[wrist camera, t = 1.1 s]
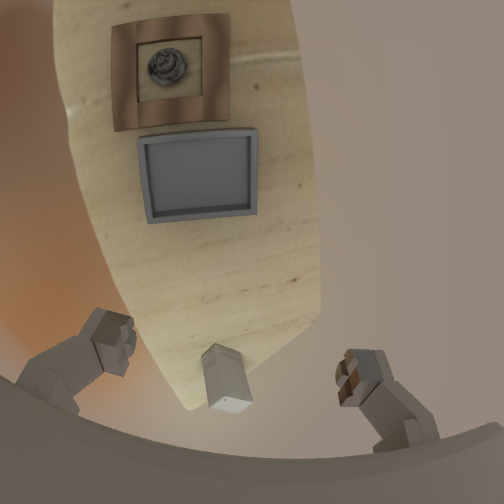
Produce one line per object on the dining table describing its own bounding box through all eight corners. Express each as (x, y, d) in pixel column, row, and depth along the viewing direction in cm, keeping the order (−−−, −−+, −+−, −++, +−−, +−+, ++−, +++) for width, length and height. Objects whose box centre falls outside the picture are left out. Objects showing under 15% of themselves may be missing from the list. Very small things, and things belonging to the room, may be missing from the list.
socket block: (116, 130, 38) (114, 131, 37) (114, 28, 29) (111, 26, 27) (228, 118, 41) (229, 119, 40) (228, 16, 32) (229, 13, 30)
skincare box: (200, 356, 67) (206, 408, 54) (216, 341, 65) (224, 395, 52) (227, 365, 71) (236, 415, 58) (242, 352, 69) (254, 403, 56)
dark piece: (195, 71, 36) (195, 61, 26) (164, 93, 37) (153, 91, 27) (175, 45, 33) (168, 26, 23) (143, 67, 34) (125, 57, 24)
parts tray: (150, 215, 46) (147, 224, 44) (141, 136, 39) (136, 139, 36) (252, 206, 49) (256, 214, 47) (253, 127, 42) (257, 129, 39)
